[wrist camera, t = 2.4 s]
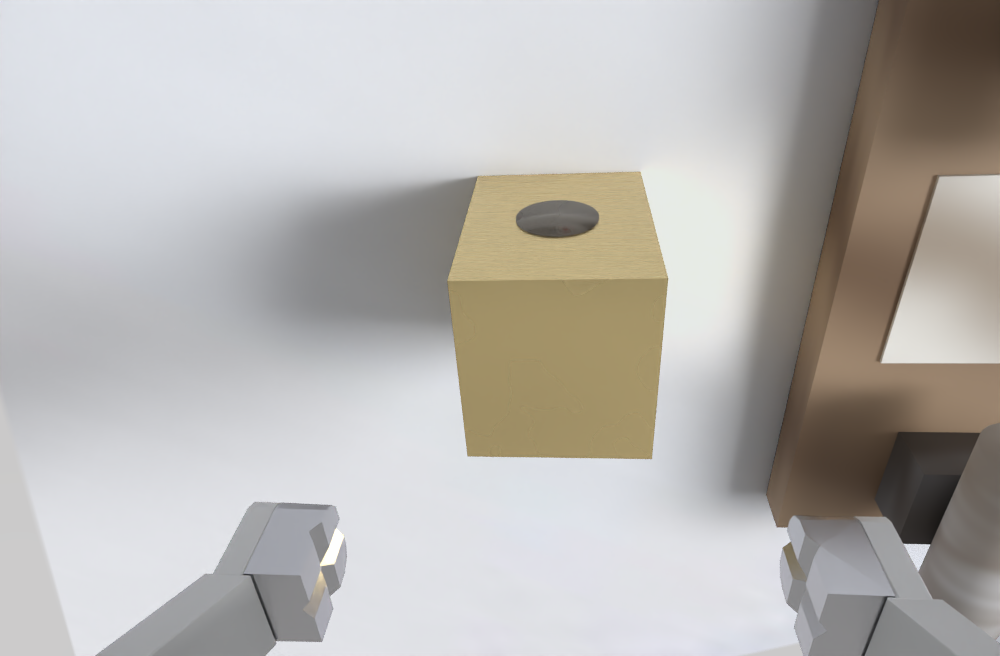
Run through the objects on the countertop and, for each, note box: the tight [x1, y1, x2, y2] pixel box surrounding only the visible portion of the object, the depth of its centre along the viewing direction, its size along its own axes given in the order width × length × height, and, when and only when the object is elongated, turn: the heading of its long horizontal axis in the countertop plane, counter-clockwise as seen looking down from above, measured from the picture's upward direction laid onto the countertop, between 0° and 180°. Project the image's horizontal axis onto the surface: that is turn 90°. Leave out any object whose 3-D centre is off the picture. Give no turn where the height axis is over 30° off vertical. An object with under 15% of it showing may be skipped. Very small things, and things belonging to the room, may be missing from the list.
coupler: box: [447, 172, 668, 459], centre depth 18 cm, size 5×4×6 cm
